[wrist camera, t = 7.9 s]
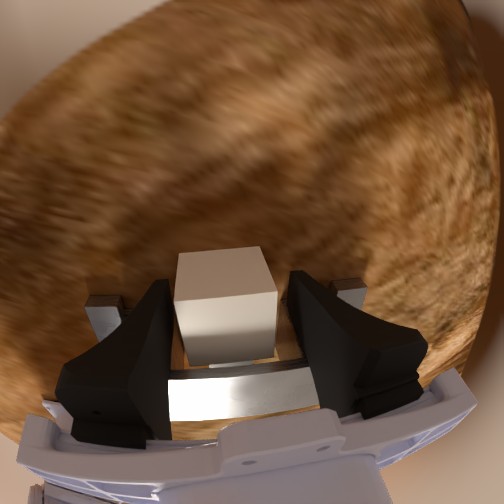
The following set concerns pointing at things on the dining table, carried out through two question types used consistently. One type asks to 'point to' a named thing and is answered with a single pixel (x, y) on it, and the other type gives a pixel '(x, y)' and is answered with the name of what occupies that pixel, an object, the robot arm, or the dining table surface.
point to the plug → (226, 306)
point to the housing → (233, 367)
